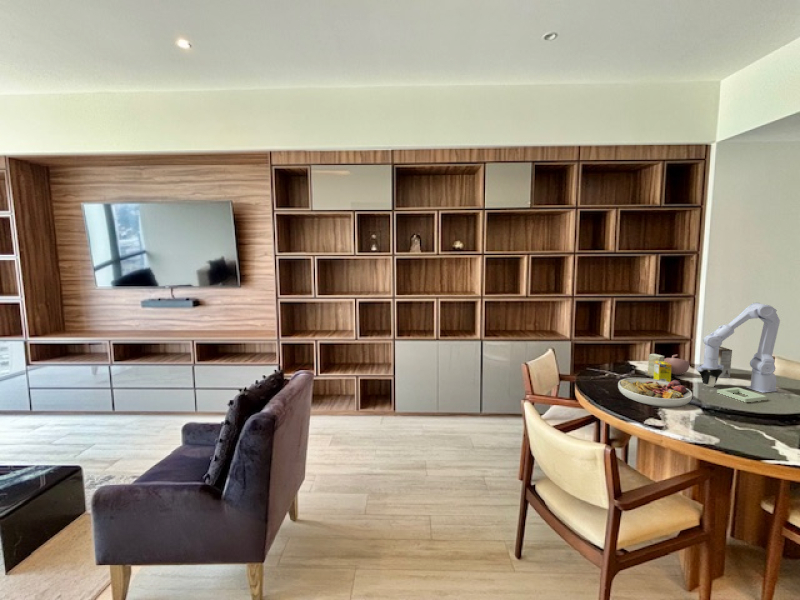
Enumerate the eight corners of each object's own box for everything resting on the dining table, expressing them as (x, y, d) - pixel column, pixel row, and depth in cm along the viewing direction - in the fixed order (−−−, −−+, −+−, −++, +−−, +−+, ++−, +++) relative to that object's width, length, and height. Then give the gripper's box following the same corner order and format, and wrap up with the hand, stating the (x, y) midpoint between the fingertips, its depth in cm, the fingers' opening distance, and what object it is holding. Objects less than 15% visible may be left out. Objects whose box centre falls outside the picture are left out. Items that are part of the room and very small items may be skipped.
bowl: (651, 412, 164) (652, 395, 164) (604, 389, 194) (604, 374, 193) (708, 406, 169) (710, 390, 168) (654, 384, 198) (655, 370, 198)
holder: (737, 391, 185) (737, 387, 185) (766, 400, 173) (766, 396, 173) (716, 393, 183) (717, 389, 183) (744, 403, 171) (745, 399, 171)
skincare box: (647, 374, 214) (648, 354, 213) (652, 373, 216) (653, 353, 214) (658, 377, 208) (659, 356, 207) (663, 376, 210) (664, 355, 209)
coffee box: (705, 372, 214) (707, 346, 212) (716, 372, 214) (718, 345, 212) (719, 378, 205) (721, 350, 203) (730, 377, 205) (732, 349, 203)
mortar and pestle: (688, 373, 215) (690, 354, 213) (688, 378, 205) (690, 358, 204) (663, 369, 222) (664, 351, 221) (662, 375, 213) (663, 355, 211)
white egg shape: (708, 383, 197) (708, 374, 196) (717, 386, 192) (717, 377, 192) (701, 384, 196) (701, 375, 195) (710, 387, 191) (710, 378, 191)
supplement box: (670, 384, 198) (672, 364, 196) (658, 383, 199) (659, 364, 198) (665, 380, 204) (666, 361, 202) (653, 380, 205) (654, 361, 203)
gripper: (714, 355, 197) (712, 379, 199) (692, 357, 195) (690, 381, 196) (728, 358, 191) (726, 383, 192) (705, 360, 188) (703, 386, 189)
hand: (709, 383), depth 194 cm, fingers closed on white egg shape, 5 cm apart
